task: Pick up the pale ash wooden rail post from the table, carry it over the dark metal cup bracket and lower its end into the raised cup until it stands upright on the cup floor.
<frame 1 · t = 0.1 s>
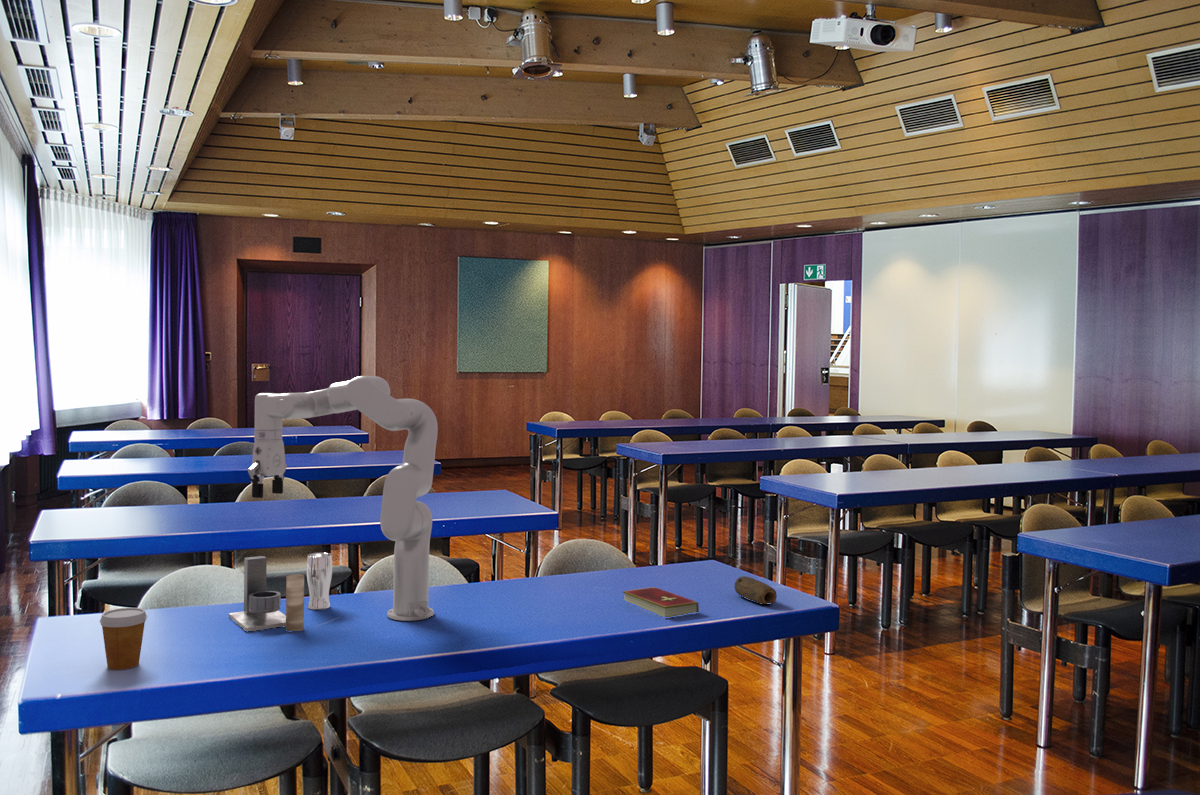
hand: (267, 495, 260), 31 cm above the table, tool pointing down, fingers open, 9 cm apart
stone weight: (754, 602, 274), on the table
hardcover book: (659, 610, 264), on the table
cup bracket: (264, 624, 239), on the table
disposable coffee cup: (123, 666, 204), on the table
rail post: (294, 629, 234), on the table
beer glass: (319, 608, 257), on the table
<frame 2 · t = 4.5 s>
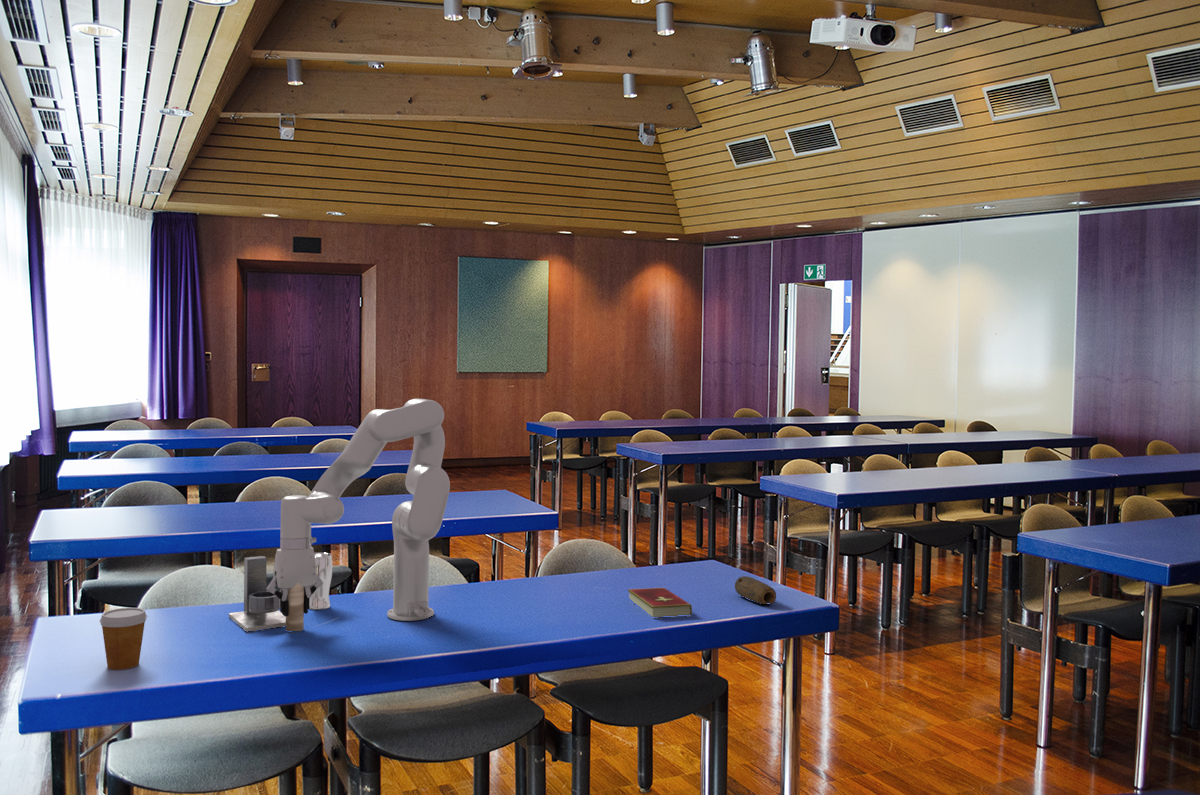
hand: (294, 613, 234), 4 cm above the table, tool pointing down, fingers closed on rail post, 4 cm apart
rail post: (294, 629, 234), on the table, touching gripper
when the fingers open (11 cm above the table, at t = 9.9 s): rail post drops 1 cm, resting on cup bracket.
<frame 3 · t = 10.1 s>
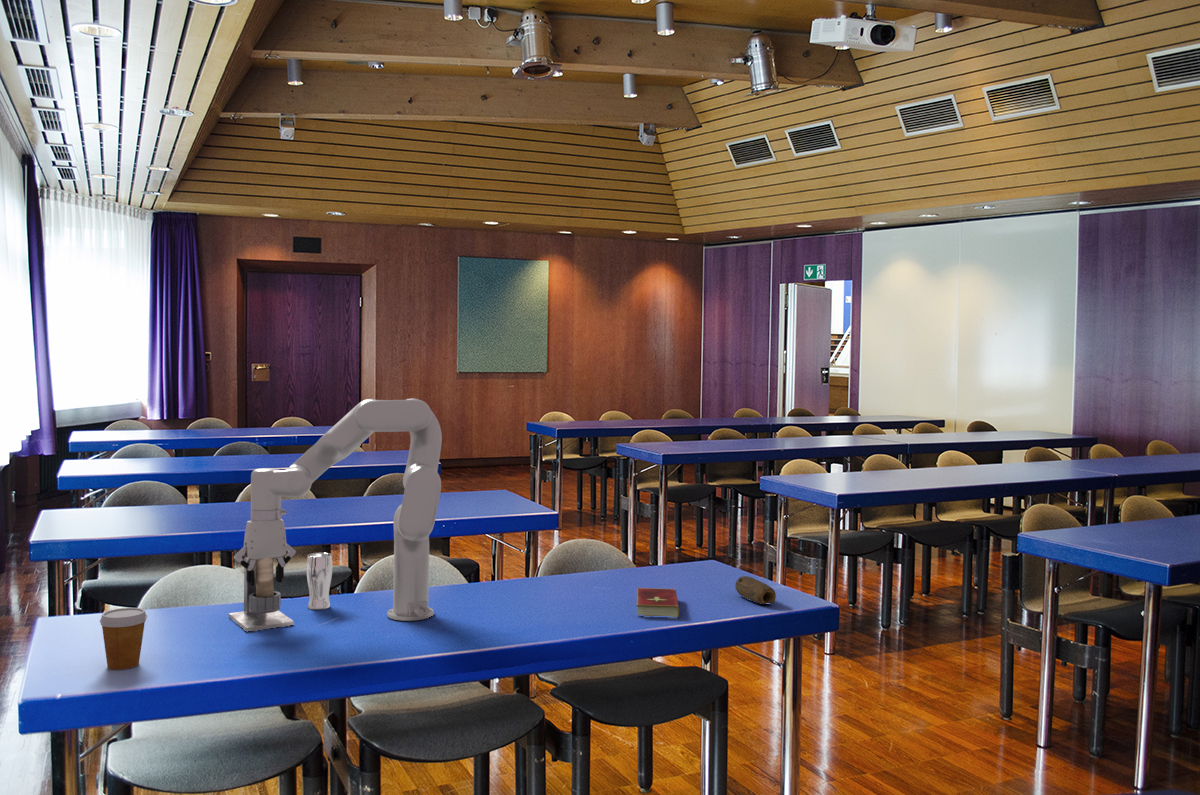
hand: (265, 582, 238), 11 cm above the table, tool pointing down, fingers open, 6 cm apart
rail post: (265, 605, 239), point 5 cm above the table, touching cup bracket
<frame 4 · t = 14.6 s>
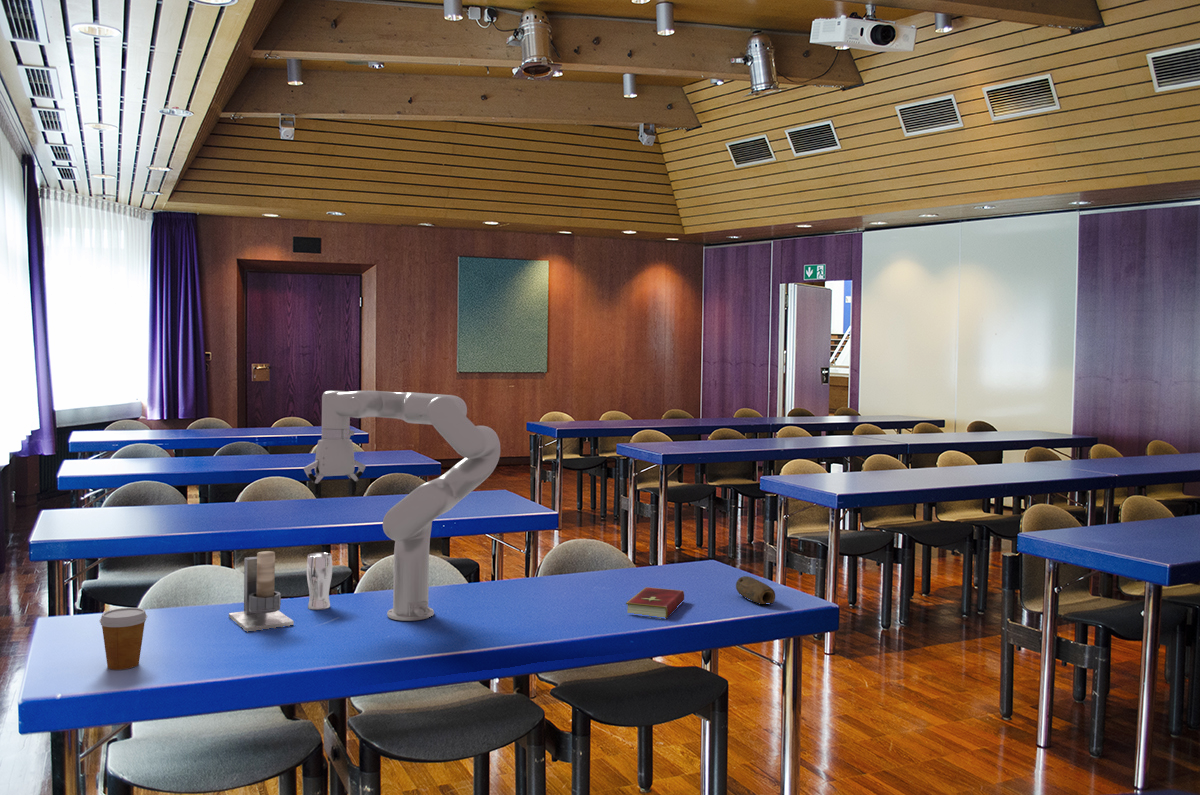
hand: (334, 496, 253), 32 cm above the table, tool pointing down, fingers open, 9 cm apart
at the end: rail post 0.1 cm off-centre on the cup bracket, point 5.0 cm above the cup bracket's base; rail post tilted 0°; the gripper is holding nothing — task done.
